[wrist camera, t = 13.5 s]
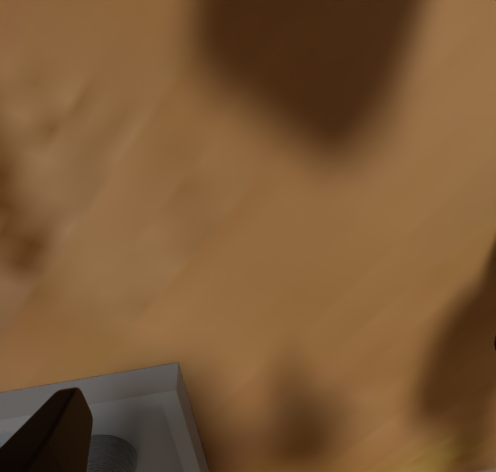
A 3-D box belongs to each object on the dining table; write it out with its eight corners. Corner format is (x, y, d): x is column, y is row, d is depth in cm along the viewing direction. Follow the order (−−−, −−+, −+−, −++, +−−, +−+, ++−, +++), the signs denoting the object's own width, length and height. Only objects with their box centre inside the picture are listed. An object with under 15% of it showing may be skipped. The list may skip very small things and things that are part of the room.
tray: (178, 362, 23) (176, 390, 22) (214, 489, 29) (214, 520, 27) (-41, 399, 23) (-63, 431, 21) (39, 521, 29) (27, 554, 27)
